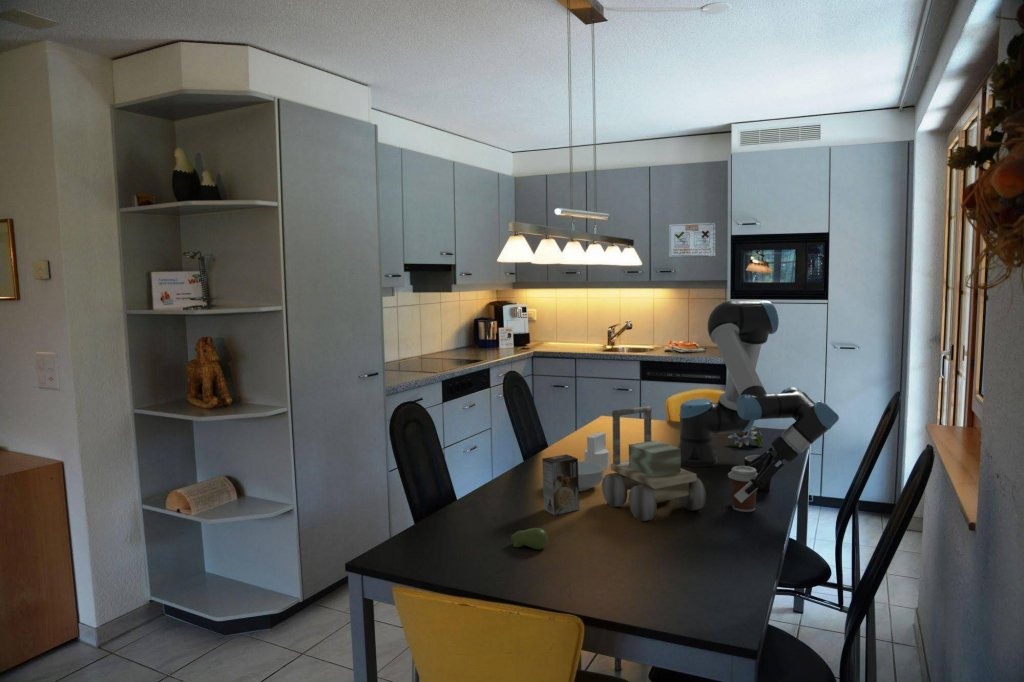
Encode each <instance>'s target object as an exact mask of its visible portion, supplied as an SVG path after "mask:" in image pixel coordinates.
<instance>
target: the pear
mask: <svg viewBox="0 0 1024 682" xmlns="http://www.w3.org/2000/svg"><path fill="white" fill-rule="evenodd" d="M510 539H511V542H512V543H511V544H512V546H513V547H514V548H521V547H523V546H527V547H528V548H531V549H534V550H542V549H544V548H546V546H547V544H548V541H549V537H548V533H547V532H546V530H544V529H542V528H541V527H532V528H528V529H525V530H517V531H516V532H515V533H512V534H511V538H510Z"/></svg>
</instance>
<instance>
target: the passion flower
mask: <svg viewBox="0 0 1024 682" xmlns="http://www.w3.org/2000/svg"><path fill="white" fill-rule="evenodd" d="M756 428H757V425H753V426H752V428H751V429H750V430H749V431H747V432H741V433H730V434H729V435H727V437H726V438H727V439H733V440H734V442H733V444H734V446H735V445H738V448H742V447H743V445H744V444H745V446H747V447H748V446H749V445H750V441H751V440H753V441H754V442H755V443H756V445H757V447H758V448H761V447H762V445H764V443H763V439H762V438H761V436H763V434H762V433H761V431H760V430H755V429H756ZM757 434H759V436H758V435H757Z"/></svg>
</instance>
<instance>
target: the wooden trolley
mask: <svg viewBox="0 0 1024 682" xmlns="http://www.w3.org/2000/svg"><path fill="white" fill-rule="evenodd" d="M652 411H653V408H652V406H651V405H648V406H646V405H645V406H640V407H639V406H638V407H632V408H631V407H630V408H623V409H617V410H616V409H615V410H612V412H611V416H612V461H613V462H612V463H610V471H613V472H612V473H607V474H604V475H603V478H602V481H601V489H602V490H601V491H602V495H603V498H604V500H605V502H606V503H607V504H608V505H609V506H610V507H612V508H616V507H622V506H624V505H625V504H626V502H627V499H628V503H629V504H628V505H629V509H630V511H631V513H632V515H633V516H634V519H636V520H638V521H640V522H646V521H647V522H648V521H651V520H653V519H654V518H655V516H656V514H657V509H658V507H657V505H658V503H662V502H669V501H674V500H677V499H679V502H680V504H681V505H682V506H683V508H684V509H686V510H687V511H690V512H691V511H697V510H701V509H702V508H703V507H705V505H706V500H707V492H706V488H705V486H704V484H703V483H702V481H701V479H700V478H698V477H697V473H694V472H692V471H689V470H686V469H684V468H682V467H681V466H682V465H681V449H680V448H678V447H676V446H674V445H670V444H667V443H664V442H661V441H658V440H652ZM635 414H643V425H644V426H643V431H644V433H643V434H644V435H643V439H644V440H643V442H639V443H630V444H628V460H626V461H624V460H623V461H621V420H620V419H621V418H620V417H621V416H627V415H628V416H629V415H635ZM628 491H629V492H628Z"/></svg>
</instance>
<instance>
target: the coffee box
mask: <svg viewBox="0 0 1024 682" xmlns="http://www.w3.org/2000/svg"><path fill="white" fill-rule="evenodd" d="M541 459H542V462H541V463H542V484H543V485H542V486H543V487H542V490H543V491H542V492H543V510H544V511H545V512H548V513H550V514H551V515H553V516H557V515H562V514H566V513H571V512H576V511H579V510H580V494H579V493H580V491H579V483H578V461H579V460H578V459H579V458H578V457H575V456H572V455H569V454H562V455H561V454H560V455H554V456H549V457H545V458H544V457H543V458H541Z"/></svg>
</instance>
